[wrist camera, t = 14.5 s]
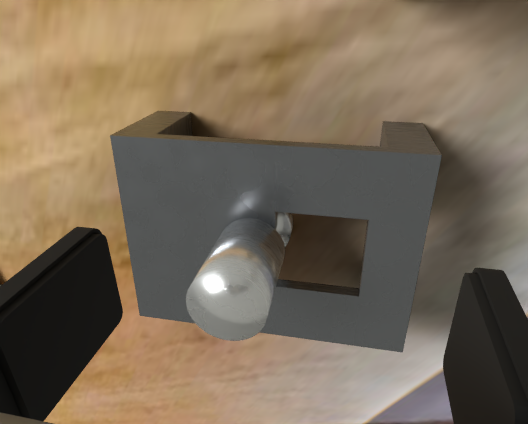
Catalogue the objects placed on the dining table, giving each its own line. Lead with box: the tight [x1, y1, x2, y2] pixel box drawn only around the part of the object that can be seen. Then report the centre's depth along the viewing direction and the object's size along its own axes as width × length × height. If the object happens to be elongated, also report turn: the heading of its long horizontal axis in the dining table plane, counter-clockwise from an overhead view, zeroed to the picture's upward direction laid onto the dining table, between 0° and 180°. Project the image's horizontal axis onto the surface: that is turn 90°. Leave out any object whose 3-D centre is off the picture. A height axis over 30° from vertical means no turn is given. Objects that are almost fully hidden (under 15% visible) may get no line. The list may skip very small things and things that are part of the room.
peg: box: [186, 212, 293, 341], centre depth 30 cm, size 5×5×12 cm
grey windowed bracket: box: [110, 111, 442, 352], centre depth 34 cm, size 22×16×8 cm
